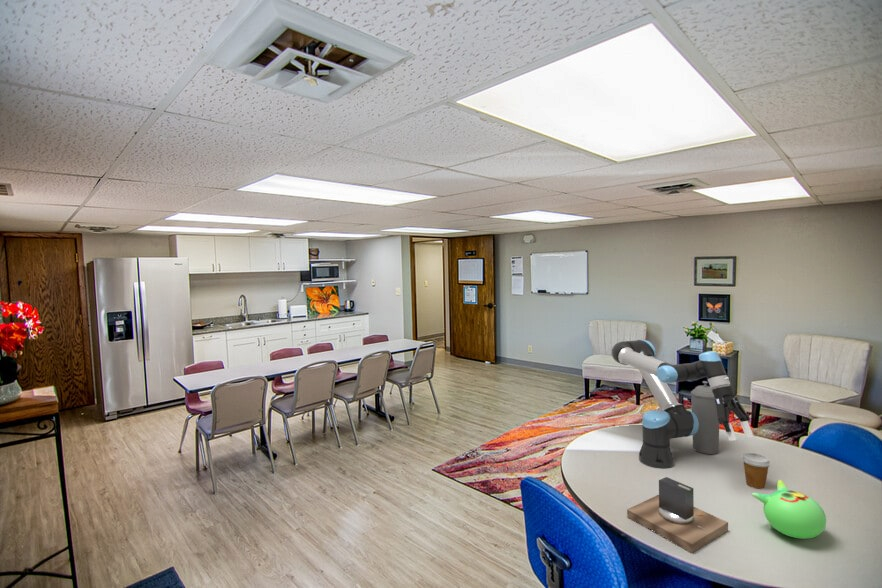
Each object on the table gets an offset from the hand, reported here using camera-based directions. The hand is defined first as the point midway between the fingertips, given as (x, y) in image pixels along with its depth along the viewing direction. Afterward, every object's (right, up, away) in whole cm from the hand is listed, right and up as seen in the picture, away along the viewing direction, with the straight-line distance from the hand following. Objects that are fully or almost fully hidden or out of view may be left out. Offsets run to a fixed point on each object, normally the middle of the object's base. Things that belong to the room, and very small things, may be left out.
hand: (742, 439), depth 173 cm
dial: (-38, -21, -20) cm, 48 cm away
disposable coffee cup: (+9, -21, +5) cm, 24 cm away
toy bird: (-2, -23, -26) cm, 35 cm away
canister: (+10, -20, +40) cm, 45 cm away
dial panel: (-38, -24, -19) cm, 49 cm away
